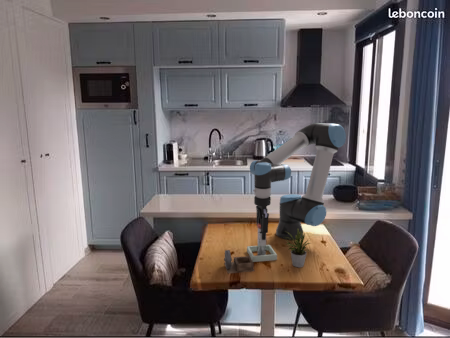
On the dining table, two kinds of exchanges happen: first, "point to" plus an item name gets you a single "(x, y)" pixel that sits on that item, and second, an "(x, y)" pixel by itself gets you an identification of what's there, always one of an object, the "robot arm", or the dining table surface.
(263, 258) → the tray
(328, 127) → the robot arm
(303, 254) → the house plant
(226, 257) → the block
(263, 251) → the pin
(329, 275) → the dining table surface
